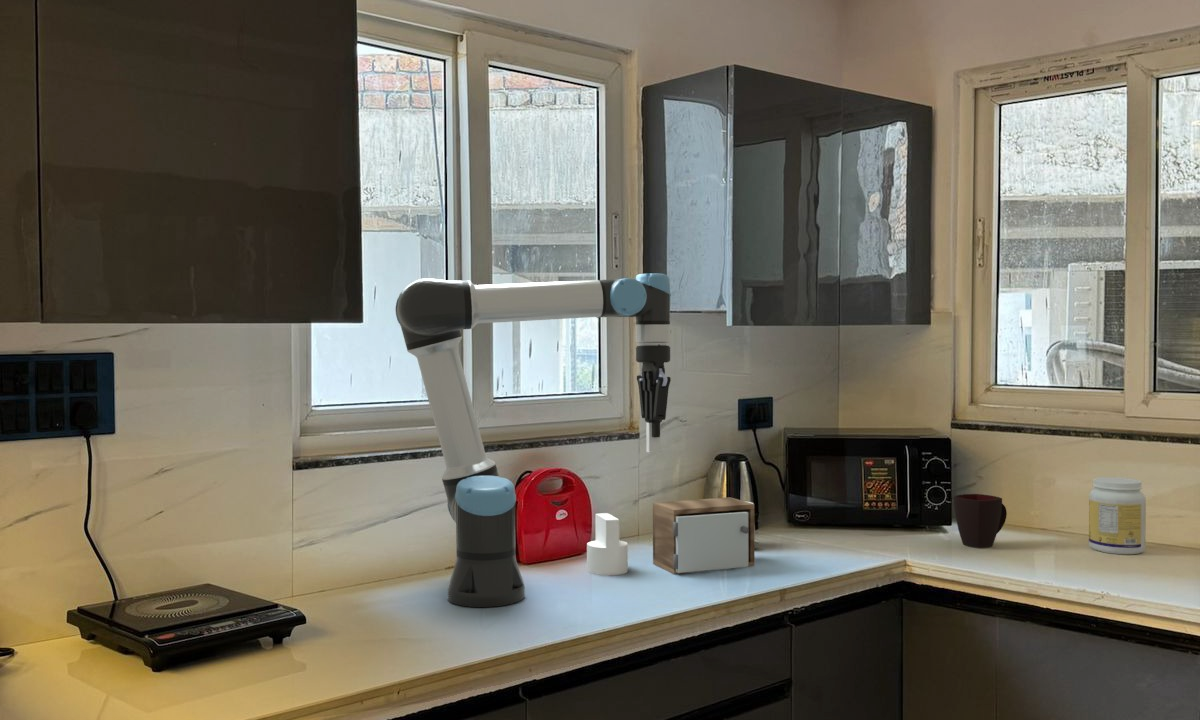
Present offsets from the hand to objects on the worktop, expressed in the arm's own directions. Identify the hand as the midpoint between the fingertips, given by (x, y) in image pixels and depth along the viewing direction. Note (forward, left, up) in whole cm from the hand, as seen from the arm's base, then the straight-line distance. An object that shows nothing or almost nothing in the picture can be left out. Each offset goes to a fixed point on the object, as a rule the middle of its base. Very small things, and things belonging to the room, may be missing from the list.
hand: (653, 451), depth 220 cm
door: (+11, -6, -26) cm, 29 cm away
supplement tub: (+112, -22, -27) cm, 117 cm away
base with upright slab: (-9, +5, -27) cm, 29 cm away
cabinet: (+13, +2, -26) cm, 29 cm away
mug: (+87, -5, -27) cm, 91 cm away
